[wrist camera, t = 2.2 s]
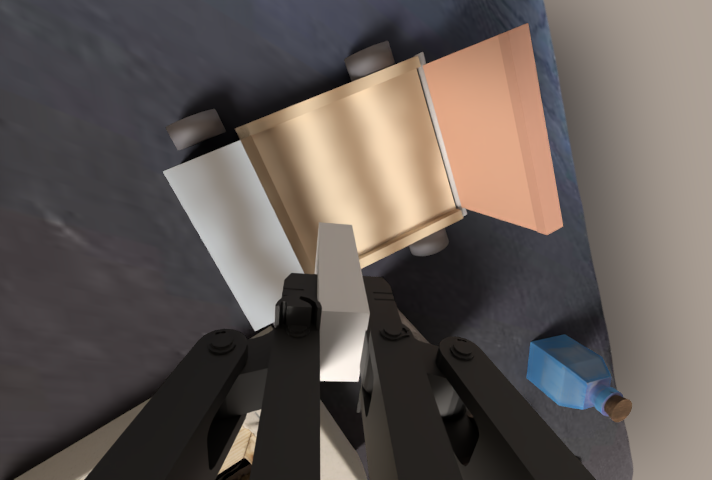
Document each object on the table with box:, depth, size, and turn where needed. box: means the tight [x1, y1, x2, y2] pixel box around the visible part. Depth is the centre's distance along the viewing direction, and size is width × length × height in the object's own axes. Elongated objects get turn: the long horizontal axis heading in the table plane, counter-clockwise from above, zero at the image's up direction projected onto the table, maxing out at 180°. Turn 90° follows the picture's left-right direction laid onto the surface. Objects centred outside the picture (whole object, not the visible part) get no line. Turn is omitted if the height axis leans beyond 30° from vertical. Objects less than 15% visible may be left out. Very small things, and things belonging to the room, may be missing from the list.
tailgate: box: [414, 23, 563, 235], centre depth 32 cm, size 2×17×13 cm, turn 22°
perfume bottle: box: [527, 334, 632, 422], centre depth 49 cm, size 6×6×12 cm
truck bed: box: [163, 41, 463, 331], centre depth 35 cm, size 24×21×8 cm
